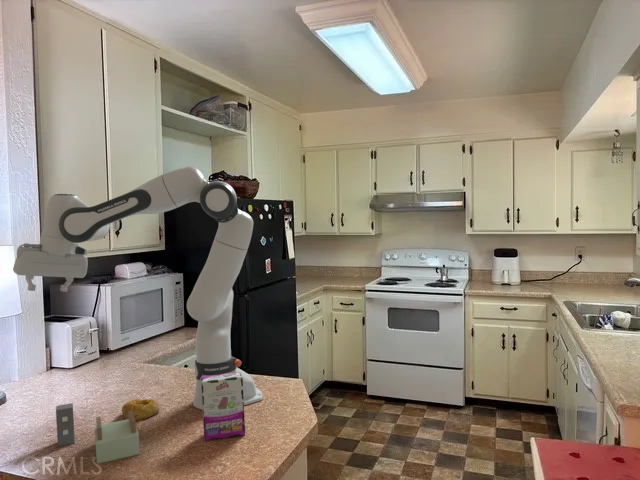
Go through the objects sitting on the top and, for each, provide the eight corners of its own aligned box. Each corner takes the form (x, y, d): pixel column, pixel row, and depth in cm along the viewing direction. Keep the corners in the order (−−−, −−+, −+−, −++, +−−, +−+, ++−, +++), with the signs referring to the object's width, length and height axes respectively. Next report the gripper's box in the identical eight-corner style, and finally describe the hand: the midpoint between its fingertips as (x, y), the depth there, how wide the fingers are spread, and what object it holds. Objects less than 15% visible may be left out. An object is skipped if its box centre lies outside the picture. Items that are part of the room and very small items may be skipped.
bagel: (157, 419, 145) (157, 403, 145) (119, 423, 143) (118, 407, 143) (161, 407, 155) (160, 392, 155) (125, 411, 153) (124, 396, 153)
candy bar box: (243, 428, 137) (241, 371, 137) (245, 435, 133) (243, 376, 132) (202, 434, 134) (200, 375, 133) (203, 441, 129) (201, 381, 129)
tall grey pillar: (74, 438, 134) (72, 403, 133) (74, 443, 130) (72, 407, 130) (58, 441, 132) (56, 405, 131) (57, 447, 129) (55, 410, 128)
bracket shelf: (134, 435, 134) (133, 407, 134) (139, 454, 124) (138, 423, 123) (95, 444, 130) (93, 414, 129) (96, 463, 119) (95, 432, 119)
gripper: (23, 244, 136) (14, 292, 136) (93, 250, 152) (85, 293, 152) (14, 240, 140) (5, 287, 140) (83, 247, 156) (75, 289, 156)
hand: (47, 290), depth 146 cm, fingers open, 8 cm apart
